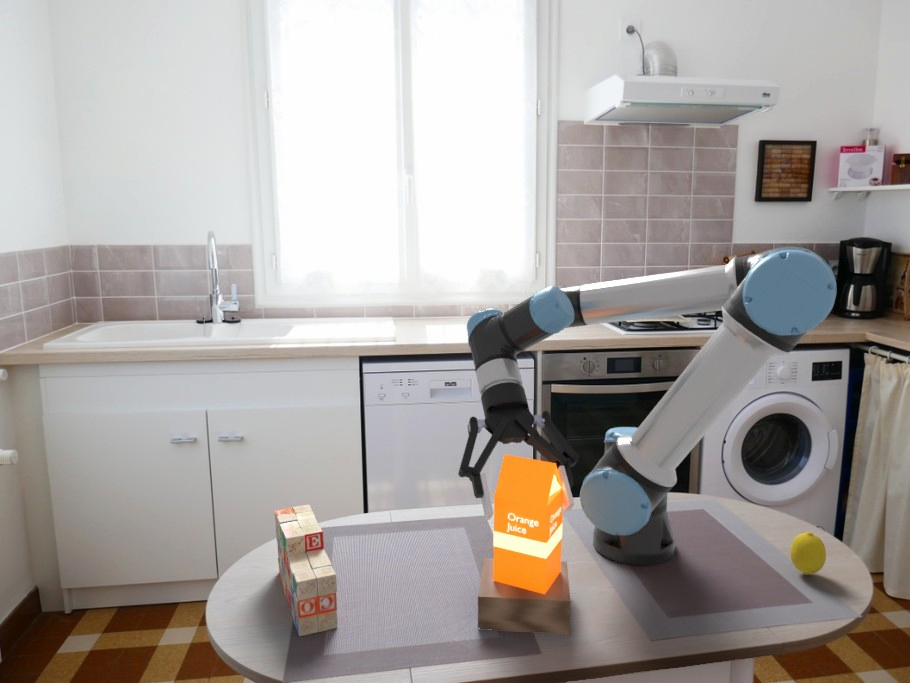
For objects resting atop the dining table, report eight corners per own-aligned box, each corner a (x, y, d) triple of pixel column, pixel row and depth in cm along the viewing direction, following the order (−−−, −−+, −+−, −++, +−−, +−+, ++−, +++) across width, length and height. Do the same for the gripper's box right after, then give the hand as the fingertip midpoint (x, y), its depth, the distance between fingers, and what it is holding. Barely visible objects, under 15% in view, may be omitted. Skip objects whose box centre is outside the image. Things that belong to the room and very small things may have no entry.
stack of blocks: (339, 629, 109) (335, 556, 107) (298, 638, 107) (293, 564, 104) (313, 565, 129) (309, 502, 126) (278, 572, 126) (274, 508, 124)
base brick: (566, 594, 118) (566, 561, 117) (569, 637, 107) (570, 601, 106) (483, 590, 120) (483, 558, 119) (478, 632, 108) (477, 596, 107)
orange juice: (511, 558, 118) (513, 446, 114) (561, 571, 114) (565, 455, 110) (492, 581, 111) (493, 462, 107) (545, 595, 107) (548, 472, 103)
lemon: (822, 570, 124) (826, 528, 123) (824, 585, 119) (828, 542, 118) (788, 564, 127) (792, 522, 125) (788, 578, 122) (792, 536, 120)
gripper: (563, 397, 125) (596, 512, 113) (428, 407, 120) (449, 529, 108) (575, 375, 119) (611, 494, 107) (434, 385, 114) (456, 511, 102)
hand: (530, 512), depth 107 cm, fingers open, 12 cm apart
